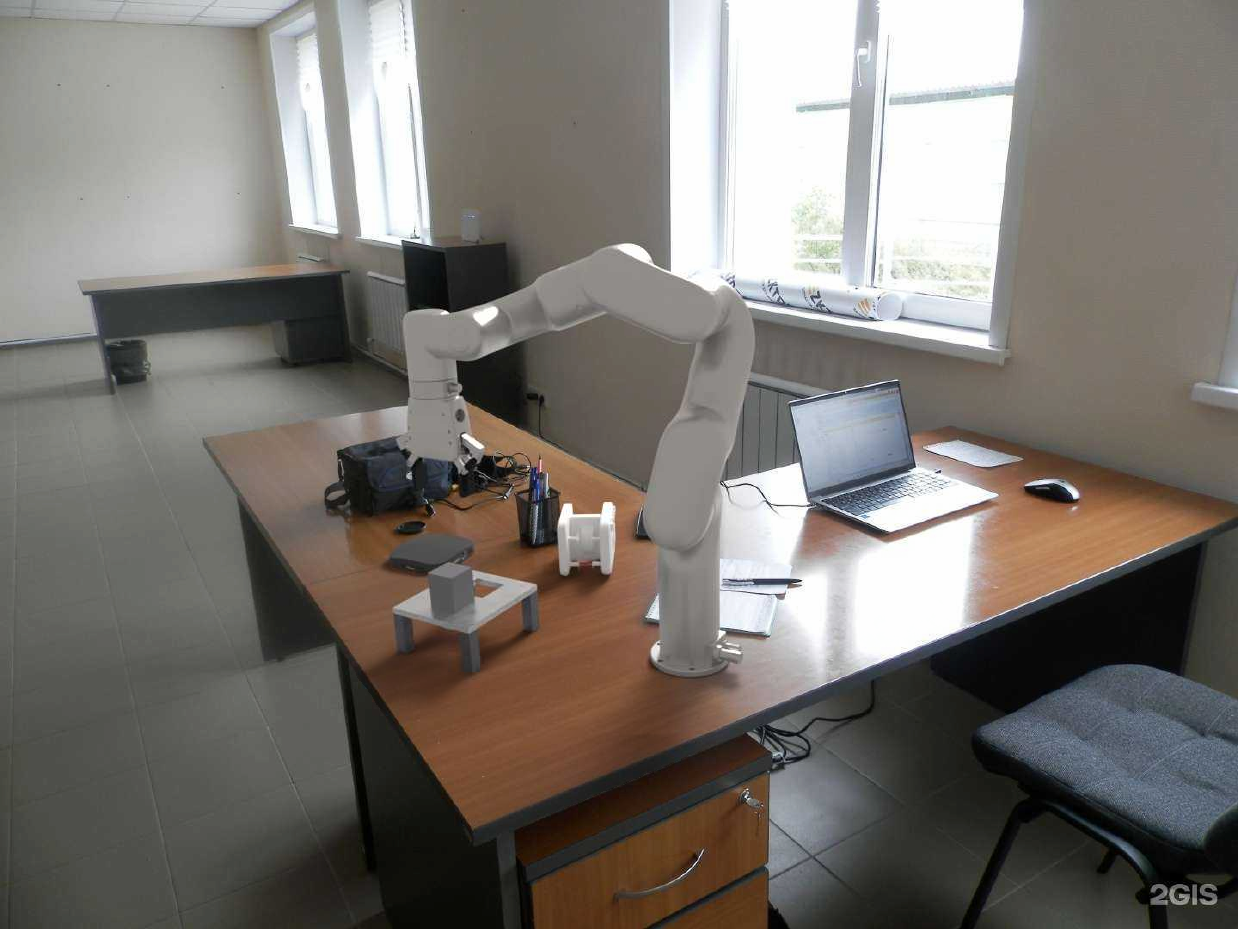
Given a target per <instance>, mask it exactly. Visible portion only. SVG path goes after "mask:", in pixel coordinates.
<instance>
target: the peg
mask: <svg viewBox="0 0 1238 929" xmlns="http://www.w3.org/2000/svg"><path fill="white" fill-rule="evenodd" d="M472 570H473V567H472V566H468V565H462V564H460V563H459V564H455V563H450V562H448V563H446V564H444V565H442V566H440V567H438V568H436V569H434V570H432V571H430V572H429V573H427V579H428V588H429V591H430V600H431V607H433V608H437V609H441V610H445V611H448V612H452V613H456V612H457V611H459V610H461V609H462V608H464V607H466V606H467V605H469V604H471V603H472V602H474V601H475V598H474V586H473V575H472ZM442 628H443V629H445V630H453V629H449V628H446V627H442Z"/></svg>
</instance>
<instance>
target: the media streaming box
mask: <svg viewBox="0 0 1238 929" xmlns="http://www.w3.org/2000/svg"><path fill="white" fill-rule="evenodd" d="M474 546H475V545H474V542H473V540H471V539H469V538H467V537H466V538H465V537H463V536H460V535H454V534H448V533H447V534H446V533H445V534H444V533H435V534H427V535H420V536H415V537H413V538H410V539H407V540H406V541H404V542H402V543H401V544H399V545H397V546H396V547H395V548H393V549H392V550H391V551H390V552H389V562H390V566H392V567H394V568H397V569H404V570H408V571H413V572H414V571H415V572H420V573H426V574H428V573H429V572H430V571H432V570H434V569H436V568H438V567H440V566H442V565H444V564H446V563H448V562H450V563H455V564H459V565H460V564H461V563H462V562H464V561H465V560H466V559H469V558H470V557H471V556H472V555H474V553H475V548H474Z"/></svg>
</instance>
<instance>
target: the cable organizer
mask: <svg viewBox="0 0 1238 929" xmlns="http://www.w3.org/2000/svg"><path fill="white" fill-rule="evenodd" d="M616 510H617V509H616V505H614V504H613V502H612V501H611V502H610V501H609V502H603V504H602V509H601V513H594V514H593V513H588V514H586V513H585V514H583V513H582V514H574V513H573V504H572V503H564V504H563V506H562V508H561V512H560V516H559V519H558V522H557V545H558V548H557V549H558V564H559V573H560V575H562V576H564V577H567V576H569V574H570V570H571V567H578V568H577V569H578V570H580V560H591V561H592V568H594V567H600V571H601V574H603V575H605V576H606V575H610V574H611V573H612V570H613V564H614V557H615V550H616V549H615V548H616V523H615V516H616V512H617V511H616ZM573 560H577V561H573ZM594 560H600V561H594Z"/></svg>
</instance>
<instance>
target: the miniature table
mask: <svg viewBox="0 0 1238 929" xmlns="http://www.w3.org/2000/svg"><path fill="white" fill-rule="evenodd" d="M472 575H473V586H474V598H475V601H474V602H472V603H471V604H469V605H467V606H466V607H464V608H462V609H461V610H459V611H457V612H456V613H452V612H448V611H445V610H441V609H437V608H433V607H431V600H430V591H429V587H428V588H426V589H424V590H422V591H421V592H419V593H417V594H415V595H413V596H411V597H409V598H408V599H406V600H404V601H402V602H400V603H399V604H397V605H395V606H393V607H392V614H393V616H392V617H393V622H394V631H395V638H396V639H395V640H396V648H397V653H400V654H404V655H408V654H410V653H411V652H413V651H414V650H416V645H415V643H416V642H415V637H414V628H413V627H414V626H413V625H414V624H413V620H416V621H421V622H425V623H427V624H432V625H435V626H439V627H442V628H443V627H446V628H449V629H448V630H450V629H453V630H454V631H458V633H459V645H460V655H461V665H462V672H464V673H467V674H470V675H474V674H475V673H476V672H479V670H481V669H482V667H481V654H480V643H479V642H480V641H479V634H478V629H479V628H481V627H483V625H485V624H487V623H488V622H490V621H492V620H493V619H495V618H496V617H498V616H499V615H501V614H502V613H504V612H505V611H507V610H508V609H511V608H512V607H513V606H514V605H516V604H518V603H519V602H521V613H522V614H521V615H522V627H523V629H522V630H524V631H529V632H531V633H533V632H535V631H536V630H538V629H539V628H540V627H541V625H540V611H539V598H538V597H539V596H538V584H535V583H531V582H527V581H522V580H518V579H514V578H509V577H504V576H500V575H496V574H492V573H487V572H482V571H477V570H473V569H472ZM476 585H481V586H486V587H490V588H496V590H495V589H494V590H493V591H492V592H490V593H488V594H486V595H485V596H484V597H479V596H476V587H475V586H476ZM412 619H413V620H412Z"/></svg>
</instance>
